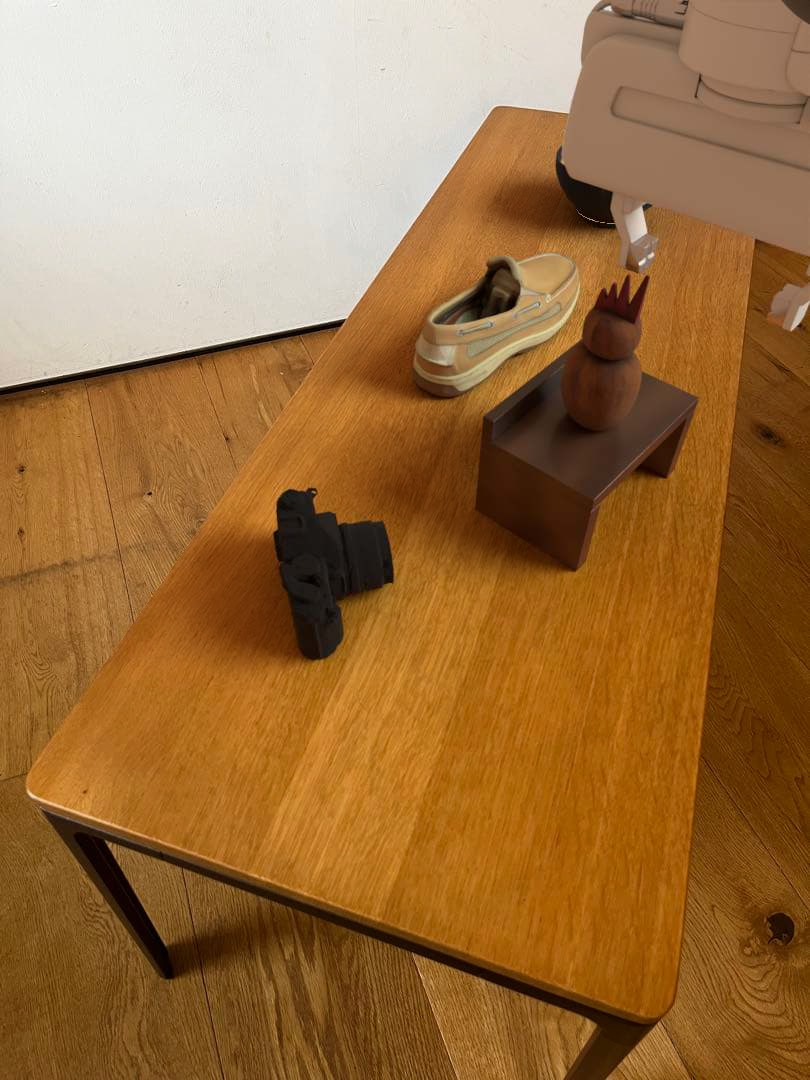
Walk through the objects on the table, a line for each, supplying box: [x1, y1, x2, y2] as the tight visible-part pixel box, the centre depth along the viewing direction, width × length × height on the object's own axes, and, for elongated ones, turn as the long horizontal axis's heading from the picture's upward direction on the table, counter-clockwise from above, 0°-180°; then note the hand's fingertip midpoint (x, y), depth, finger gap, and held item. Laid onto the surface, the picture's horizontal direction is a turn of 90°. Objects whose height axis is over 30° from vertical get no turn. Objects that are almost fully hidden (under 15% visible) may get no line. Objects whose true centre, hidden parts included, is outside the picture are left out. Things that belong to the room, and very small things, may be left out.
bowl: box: [554, 145, 654, 229], centre depth 113 cm, size 17×17×10 cm
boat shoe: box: [412, 251, 581, 398], centre depth 92 cm, size 10×29×11 cm, turn 144°
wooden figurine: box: [561, 274, 651, 431], centre depth 67 cm, size 7×6×15 cm
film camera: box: [272, 487, 395, 661], centre depth 68 cm, size 15×10×9 cm, turn 12°
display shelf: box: [474, 338, 700, 572], centre depth 75 cm, size 12×18×12 cm, turn 138°
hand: (705, 293), depth 46 cm, fingers open, 8 cm apart
